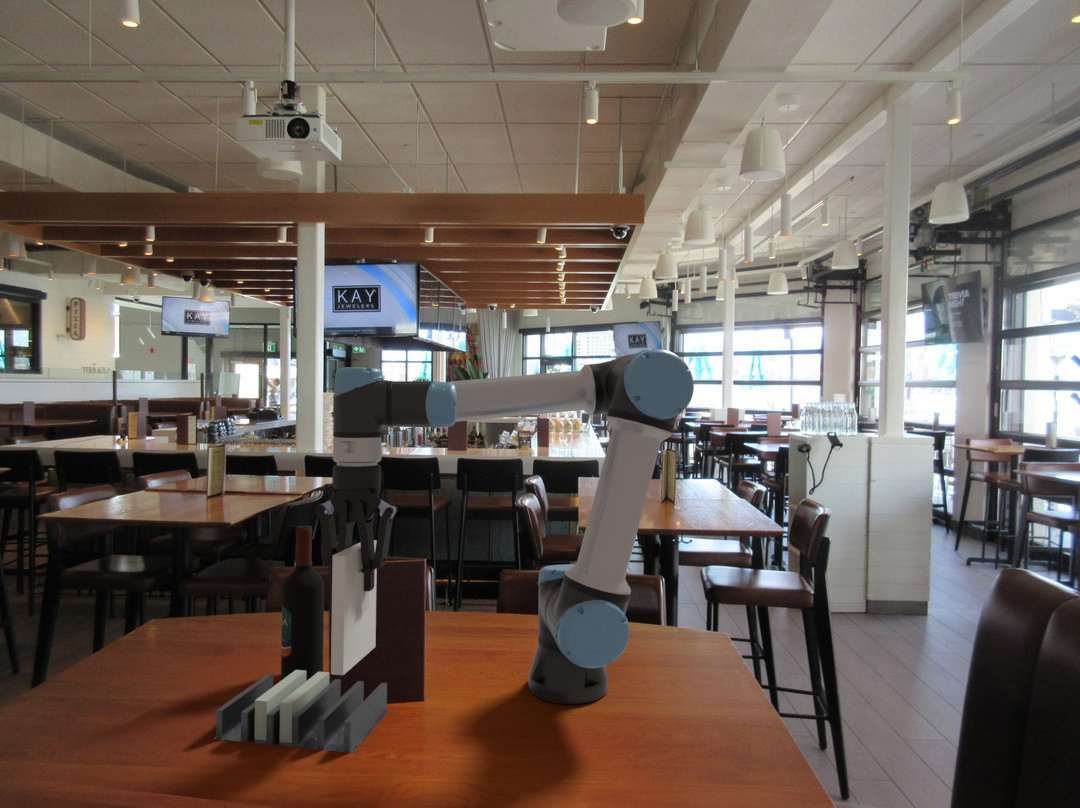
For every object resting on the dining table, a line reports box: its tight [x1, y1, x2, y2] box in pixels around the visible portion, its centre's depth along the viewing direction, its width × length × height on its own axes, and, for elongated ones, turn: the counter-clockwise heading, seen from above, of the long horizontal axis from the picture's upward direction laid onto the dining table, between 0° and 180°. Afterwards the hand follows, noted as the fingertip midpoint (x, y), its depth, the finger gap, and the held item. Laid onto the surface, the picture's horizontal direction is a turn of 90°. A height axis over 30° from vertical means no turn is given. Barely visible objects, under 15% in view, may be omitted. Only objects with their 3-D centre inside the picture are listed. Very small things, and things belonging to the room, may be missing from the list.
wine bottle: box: [280, 525, 325, 681], centre depth 125 cm, size 8×8×30 cm
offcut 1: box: [254, 670, 307, 740], centre depth 107 cm, size 2×12×6 cm, turn 171°
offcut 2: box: [280, 671, 330, 743], centre depth 106 cm, size 2×12×6 cm, turn 171°
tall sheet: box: [330, 539, 378, 676], centre depth 105 cm, size 2×12×18 cm, turn 171°
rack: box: [213, 673, 390, 754], centre depth 106 cm, size 23×14×6 cm, turn 81°
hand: (355, 610), depth 105 cm, fingers closed on tall sheet, 2 cm apart
